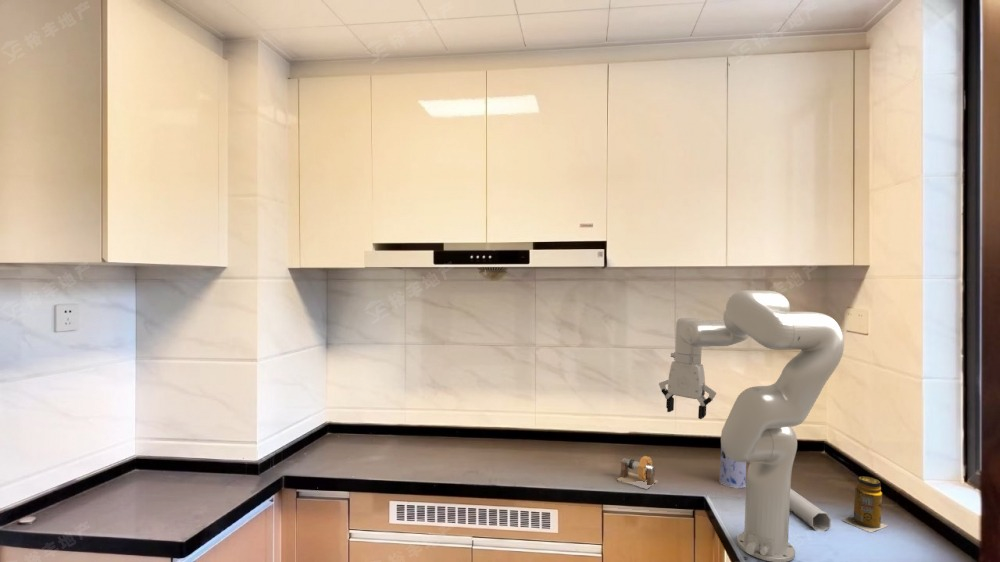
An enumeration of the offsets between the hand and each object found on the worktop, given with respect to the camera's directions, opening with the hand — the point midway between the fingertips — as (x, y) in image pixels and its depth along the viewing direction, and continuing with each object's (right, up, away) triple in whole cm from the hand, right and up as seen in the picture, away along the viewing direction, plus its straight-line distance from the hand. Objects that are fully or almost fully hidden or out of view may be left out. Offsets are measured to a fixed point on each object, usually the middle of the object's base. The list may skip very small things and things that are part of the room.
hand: (685, 414), depth 160 cm
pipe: (-13, -19, +6) cm, 24 cm away
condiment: (+42, -25, -18) cm, 52 cm away
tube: (+27, -25, -10) cm, 38 cm away
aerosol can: (+17, -24, +7) cm, 30 cm away
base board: (-13, -23, +7) cm, 27 cm away
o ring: (-11, -21, +5) cm, 25 cm away
